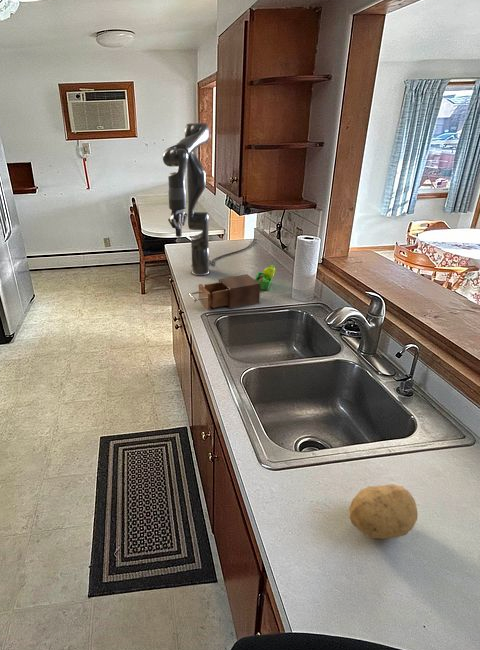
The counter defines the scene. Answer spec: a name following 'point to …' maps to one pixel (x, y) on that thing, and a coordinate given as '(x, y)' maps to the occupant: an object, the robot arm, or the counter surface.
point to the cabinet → (242, 290)
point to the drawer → (212, 295)
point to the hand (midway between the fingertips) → (178, 236)
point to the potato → (383, 511)
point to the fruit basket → (265, 277)
